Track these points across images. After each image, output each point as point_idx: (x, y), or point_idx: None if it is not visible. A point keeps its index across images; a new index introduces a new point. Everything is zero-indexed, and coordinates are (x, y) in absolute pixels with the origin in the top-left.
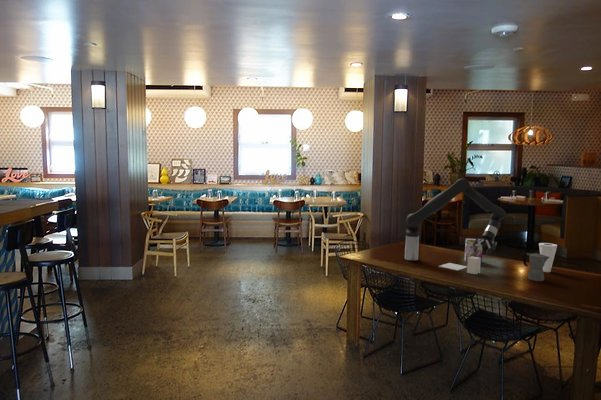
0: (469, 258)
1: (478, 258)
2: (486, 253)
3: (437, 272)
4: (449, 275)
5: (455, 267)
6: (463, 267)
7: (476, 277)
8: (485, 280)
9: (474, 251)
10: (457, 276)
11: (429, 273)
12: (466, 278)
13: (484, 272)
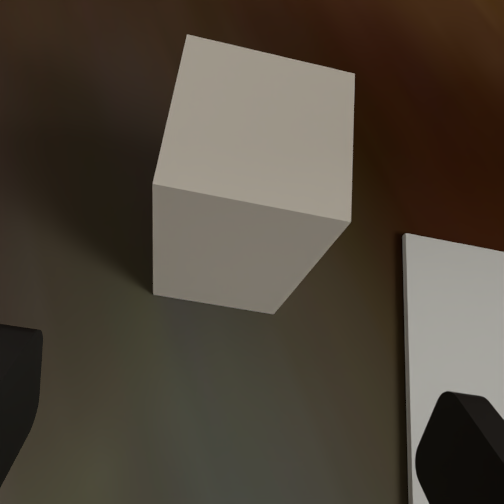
0: (319, 74)
1: (175, 106)
2: (35, 346)
3: (479, 66)
4: (357, 29)
5: (488, 338)
6: (428, 416)
7: (129, 85)
8: (15, 28)
9: (443, 408)
10: (291, 32)
11: (496, 10)
12: (200, 10)
13: (109, 374)
